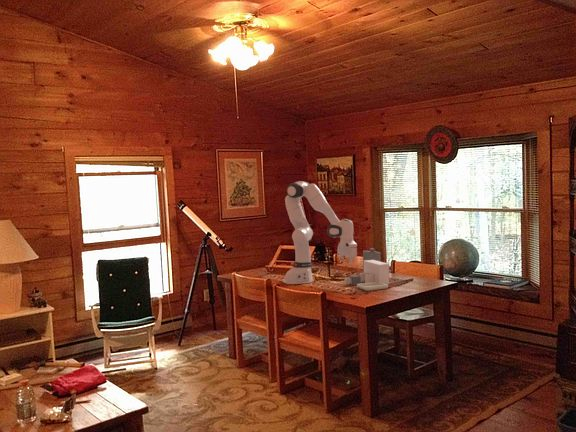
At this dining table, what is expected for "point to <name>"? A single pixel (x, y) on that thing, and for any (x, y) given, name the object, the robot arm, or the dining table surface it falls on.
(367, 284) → the sage tray
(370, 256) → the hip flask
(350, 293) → the dining table surface
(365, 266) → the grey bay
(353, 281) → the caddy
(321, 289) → the dining table surface
